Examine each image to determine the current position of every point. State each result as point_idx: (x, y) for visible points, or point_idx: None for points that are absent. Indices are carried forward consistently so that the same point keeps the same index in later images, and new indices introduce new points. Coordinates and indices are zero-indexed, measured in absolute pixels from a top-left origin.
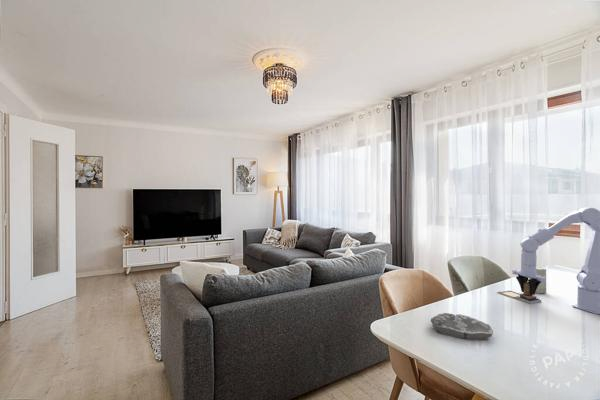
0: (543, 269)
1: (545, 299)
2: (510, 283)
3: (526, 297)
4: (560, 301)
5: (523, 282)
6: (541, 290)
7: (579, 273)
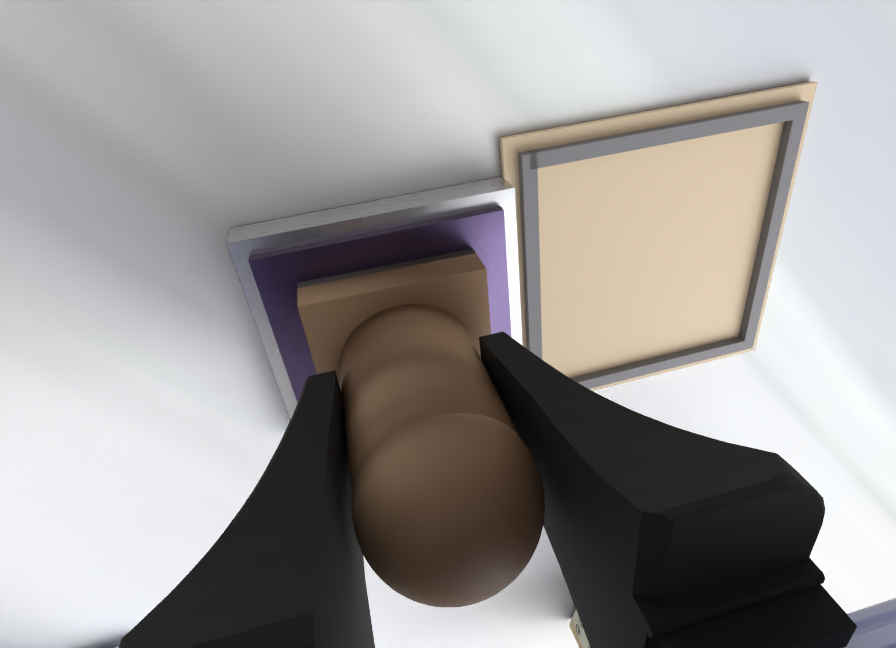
0: None
1: None
2: (893, 506)
3: (346, 284)
4: None
5: (567, 498)
6: None
7: None
